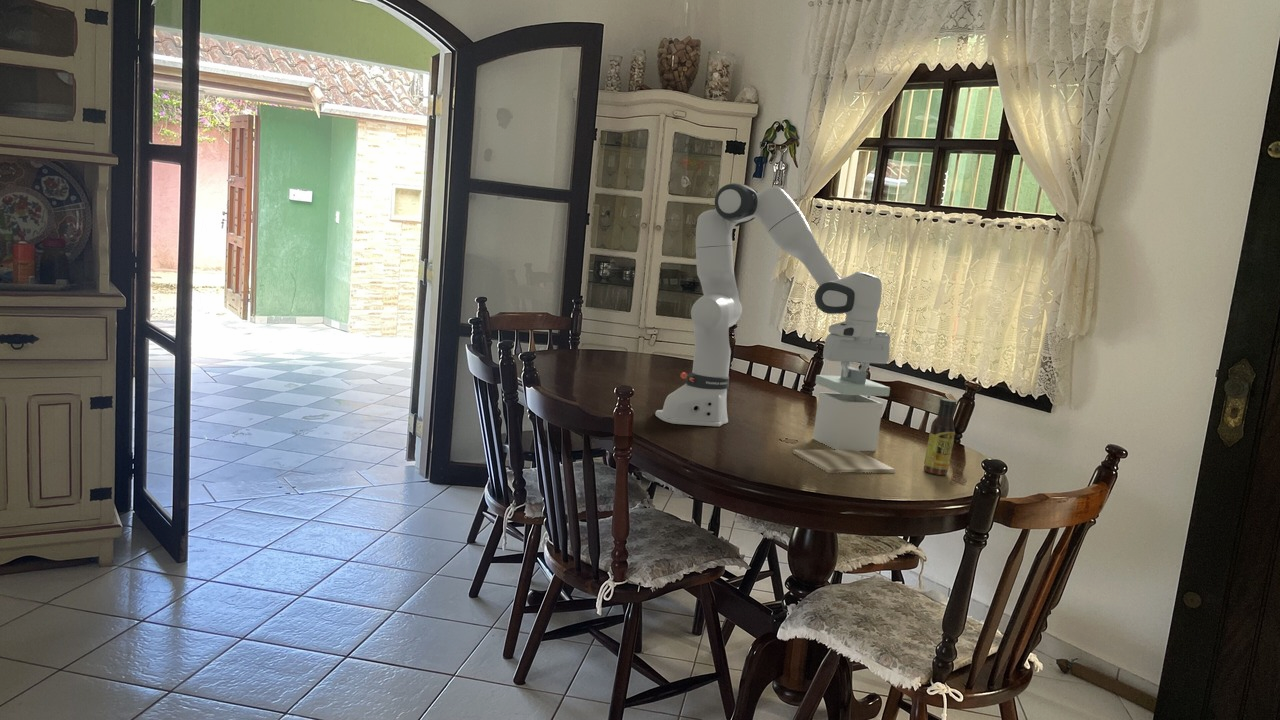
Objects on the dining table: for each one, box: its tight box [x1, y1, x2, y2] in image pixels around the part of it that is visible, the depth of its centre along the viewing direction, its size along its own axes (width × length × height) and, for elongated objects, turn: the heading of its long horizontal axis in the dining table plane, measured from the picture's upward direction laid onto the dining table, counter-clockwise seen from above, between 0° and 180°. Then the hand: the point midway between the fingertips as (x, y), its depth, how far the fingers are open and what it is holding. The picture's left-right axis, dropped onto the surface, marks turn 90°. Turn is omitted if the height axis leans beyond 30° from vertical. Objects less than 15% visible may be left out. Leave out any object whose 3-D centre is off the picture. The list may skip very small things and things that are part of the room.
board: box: [792, 449, 896, 474], centre depth 226 cm, size 20×18×1 cm
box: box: [812, 391, 884, 452], centre depth 246 cm, size 13×13×14 cm
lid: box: [814, 366, 891, 397], centre depth 244 cm, size 15×15×6 cm
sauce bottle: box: [923, 398, 957, 476], centre depth 224 cm, size 6×6×20 cm
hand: (853, 377), depth 244 cm, fingers closed on lid, 3 cm apart
